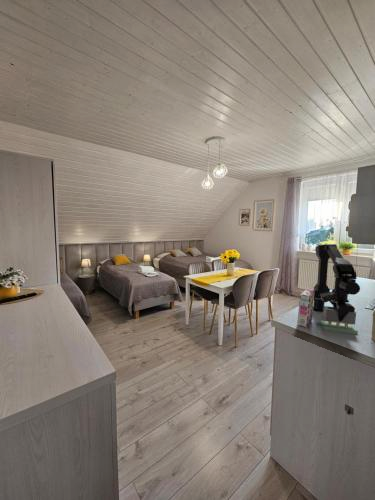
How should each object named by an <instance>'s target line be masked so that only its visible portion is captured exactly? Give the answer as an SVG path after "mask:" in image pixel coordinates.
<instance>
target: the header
mask: <svg viewBox="0 0 375 500" xmlns="http://www.w3.org/2000/svg"><path fill="white" fill-rule="evenodd" d="M319 324H320V326H321V328H322V329H323V330H324V331H332V332H337V333H338V332H339V333H346V334H347V333H348V334H353V335H355V334H356V335H358V333H359V332H358V331H359V330H357V328H356V327H355V326H353V324H345V323H337V322H329V321H325V320H324V319H323V320H322V319H321V320H320V319H319Z"/></svg>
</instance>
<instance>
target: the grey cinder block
mask: <svg viewBox="0 0 375 500" xmlns="http://www.w3.org/2000/svg"><path fill="white" fill-rule="evenodd" d="M322 312H323V313H322V318H323V321H329V322H337V323H345V324H352V326H353V325H356V320H357V319H356V318H357V312H356V311H355V312H349V313H348V314H347V315H346V316H345V318H344V319H343V320H342V321H339V317H338V310H337V309H336V308H335V307H333V306H326V305H324V310H323V311H322Z"/></svg>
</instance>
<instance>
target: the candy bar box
mask: <svg viewBox="0 0 375 500" xmlns="http://www.w3.org/2000/svg"><path fill="white" fill-rule="evenodd" d="M313 304H314V292H313V290H306V289H305V290H303V291H302V292H301V293H300V294H299V302H298V312H297V324H296V325H297V326H299V327H303V328H305V329H306V328H308V327H309V326H310V324H311V323H312V321H313V313H314V312H313V311H314V310H313Z"/></svg>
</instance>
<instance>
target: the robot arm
mask: <svg viewBox="0 0 375 500" xmlns="http://www.w3.org/2000/svg"><path fill="white" fill-rule="evenodd" d="M314 250H315V255H316V257H317V259H318V268H317V282H316V284H315V286H314V287H313V290H312V291H313V292H314V302H313V311H315V312H323V310H324V306H325V303H328V302H329V303H330V304H331V305H332V307H335V308H336V309H337V310H338V317H339V321H342V320H343V319H344V318H345V316H346V315H347V314H348V313H349V312H356V308H355V306H353V305H352V303H350V300H349V295H352V296H353V295H354V296H355V295H356V294H357V295H358V293H360V291H361V287H360V285H359V284H358V283H357V282H356V280H357V272H356V271H355V267H354V266H353V264H352V263H351V262H350V261H349V260H347V259H344V257H343V255H342V254H341V252H340V250H339V248H338V246H337V244H336V243H329V242H328V243H324V244H318V245H317V246H315V249H314ZM330 259H331V262H332V263H333V266H332V271H333V274H334V276H333V277H334V278H335V279H334V286H333V287H334V288H332V290H331V289H330V287H328V285H327V282H328V269H329V260H330Z"/></svg>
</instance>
